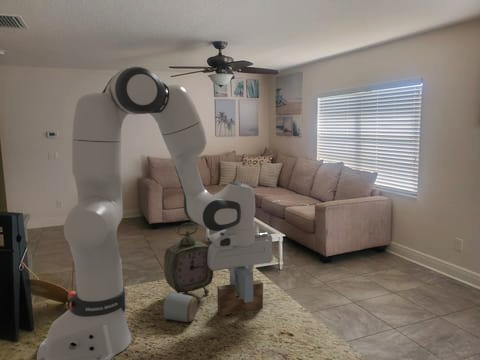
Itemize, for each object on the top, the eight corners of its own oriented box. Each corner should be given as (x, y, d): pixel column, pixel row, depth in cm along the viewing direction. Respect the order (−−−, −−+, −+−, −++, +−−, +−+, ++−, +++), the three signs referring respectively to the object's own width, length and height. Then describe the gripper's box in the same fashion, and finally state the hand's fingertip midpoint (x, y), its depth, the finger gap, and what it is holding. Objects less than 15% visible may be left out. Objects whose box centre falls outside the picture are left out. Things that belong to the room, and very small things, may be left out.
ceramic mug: (189, 327, 107) (189, 301, 106) (162, 323, 109) (162, 298, 108) (202, 310, 117) (202, 286, 116) (178, 307, 120) (177, 283, 119)
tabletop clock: (173, 306, 120) (171, 229, 116) (162, 295, 127) (160, 222, 124) (214, 295, 128) (213, 222, 124) (201, 285, 135) (200, 216, 131)
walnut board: (220, 314, 114) (219, 289, 113) (217, 311, 117) (217, 286, 116) (262, 307, 119) (263, 282, 118) (259, 303, 121) (259, 279, 120)
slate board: (229, 283, 123) (229, 260, 122) (237, 282, 124) (237, 259, 123) (245, 302, 110) (245, 276, 109) (253, 301, 111) (253, 275, 110)
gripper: (267, 229, 121) (267, 271, 123) (205, 236, 114) (206, 280, 116) (276, 234, 115) (276, 278, 117) (211, 242, 108) (211, 288, 110)
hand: (240, 279), depth 116 cm, fingers closed on slate board, 2 cm apart
